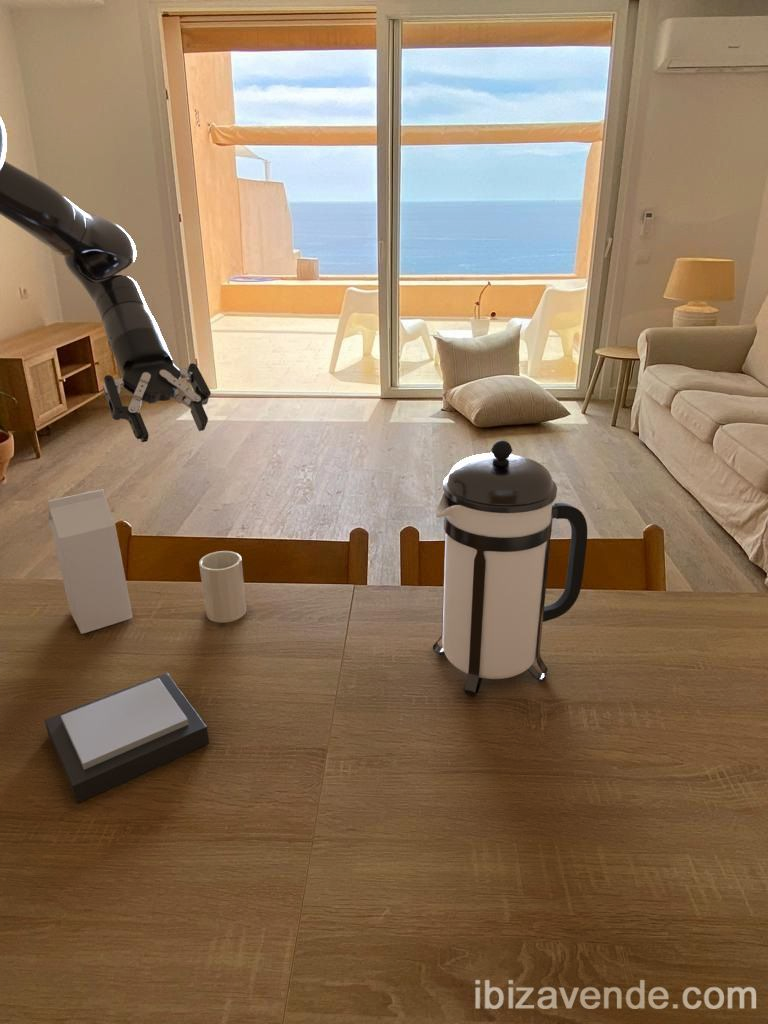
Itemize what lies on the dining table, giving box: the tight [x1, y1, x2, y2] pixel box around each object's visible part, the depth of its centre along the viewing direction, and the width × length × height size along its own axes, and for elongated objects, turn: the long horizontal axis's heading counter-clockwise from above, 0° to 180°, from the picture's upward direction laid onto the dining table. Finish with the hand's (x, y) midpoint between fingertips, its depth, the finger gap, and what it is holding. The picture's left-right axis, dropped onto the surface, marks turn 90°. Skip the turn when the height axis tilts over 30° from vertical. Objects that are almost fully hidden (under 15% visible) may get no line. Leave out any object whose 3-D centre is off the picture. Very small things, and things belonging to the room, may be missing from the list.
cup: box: [198, 550, 248, 624], centre depth 99 cm, size 6×6×8 cm
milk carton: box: [47, 488, 133, 635], centre depth 97 cm, size 7×7×19 cm
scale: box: [44, 672, 210, 805], centre depth 76 cm, size 14×12×3 cm
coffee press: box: [432, 439, 588, 697], centre depth 84 cm, size 17×16×30 cm
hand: (175, 433), depth 100 cm, fingers open, 8 cm apart
